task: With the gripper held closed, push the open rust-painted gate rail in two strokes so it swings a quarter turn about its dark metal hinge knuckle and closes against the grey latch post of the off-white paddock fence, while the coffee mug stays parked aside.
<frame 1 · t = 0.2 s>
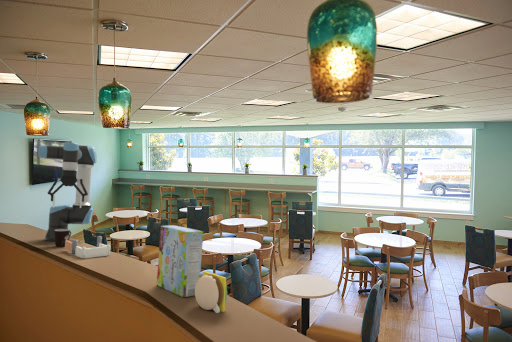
hand: (67, 207, 208), 26 cm above the table, fingers open, 13 cm apart
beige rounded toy: (209, 308, 134), on the table
coffee mug: (63, 246, 230), on the table
gate: (70, 244, 212), point 5 cm above the table, hinge at 90.0°
paddock fence: (74, 254, 209), on the table
snack box: (177, 290, 154), on the table
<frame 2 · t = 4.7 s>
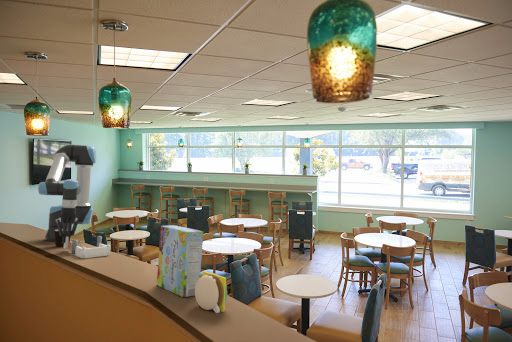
hand: (65, 248, 212), 2 cm above the table, fingers closed
gate: (71, 244, 213), point 5 cm above the table, hinge at 86.3°, touching gripper
everything else where it was.
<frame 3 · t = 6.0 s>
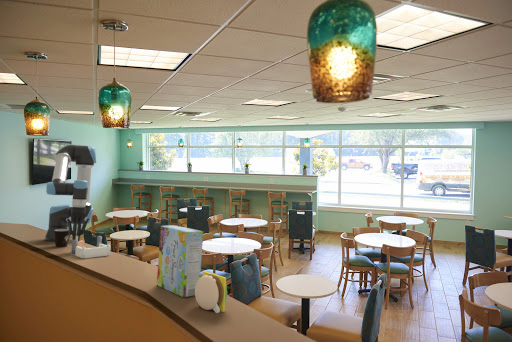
hand: (75, 246, 216), 3 cm above the table, fingers closed
gate: (78, 244, 214), point 5 cm above the table, hinge at 47.9°, touching gripper
everything else where it was.
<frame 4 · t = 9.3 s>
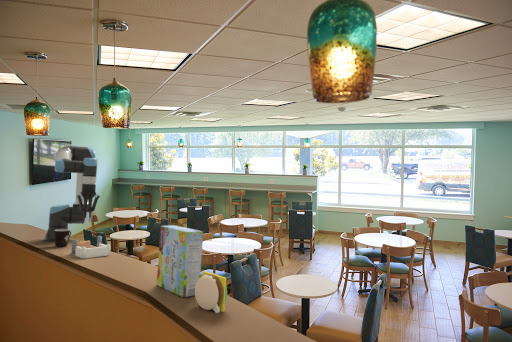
hand: (86, 223, 221), 16 cm above the table, fingers closed
gate: (81, 244, 214), point 5 cm above the table, hinge at 26.7°
everything else where it was.
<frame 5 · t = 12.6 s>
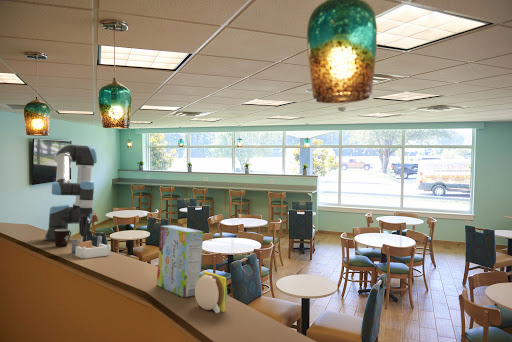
hand: (83, 247, 218), 3 cm above the table, fingers closed
gate: (82, 244, 214), point 5 cm above the table, hinge at 21.0°, touching gripper
everything else where it was.
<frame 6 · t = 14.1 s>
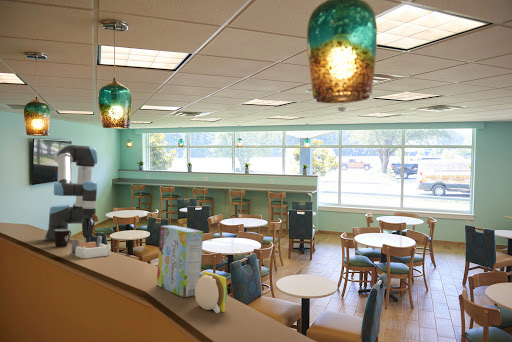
hand: (86, 248, 216), 2 cm above the table, fingers closed
gate: (84, 245, 213), point 5 cm above the table, hinge at -2.0°, touching gripper
everything else where it was.
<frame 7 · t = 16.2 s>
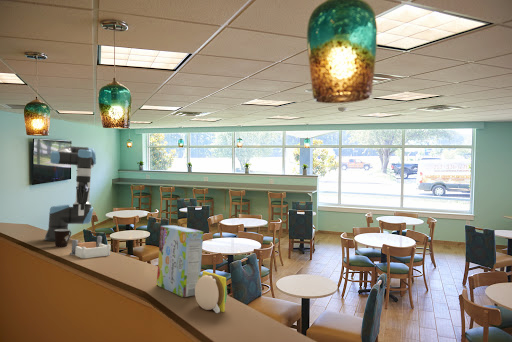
hand: (81, 215, 219), 21 cm above the table, fingers closed
gate: (84, 245, 213), point 5 cm above the table, hinge at -1.8°
everything else where it was.
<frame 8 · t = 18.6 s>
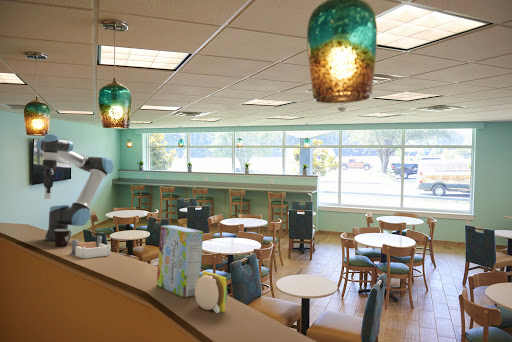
hand: (47, 198, 224), 29 cm above the table, fingers closed
nothing on the table moved.
at the end: gate at -2° (first picture: +90°); coffee mug moved 0.2 cm from its start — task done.
